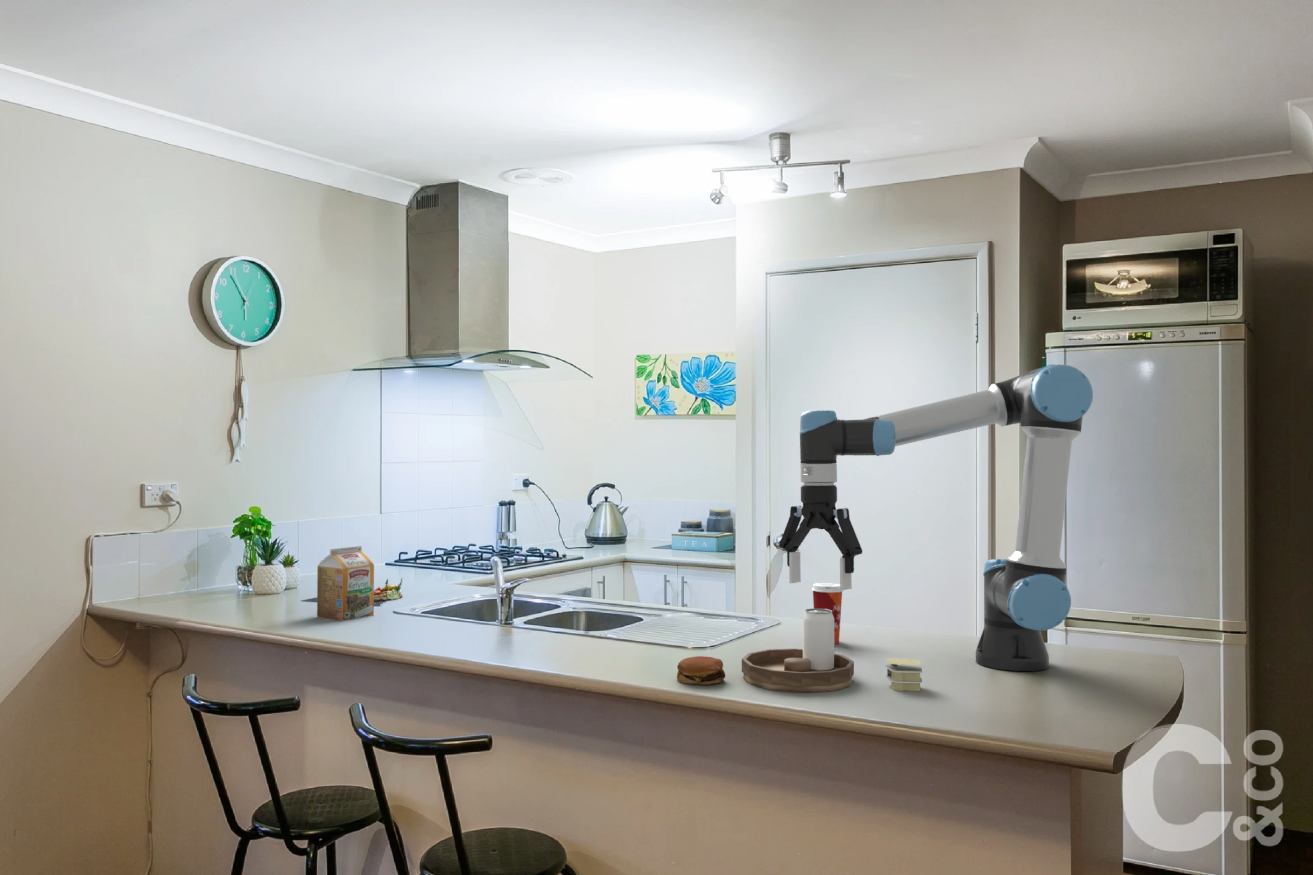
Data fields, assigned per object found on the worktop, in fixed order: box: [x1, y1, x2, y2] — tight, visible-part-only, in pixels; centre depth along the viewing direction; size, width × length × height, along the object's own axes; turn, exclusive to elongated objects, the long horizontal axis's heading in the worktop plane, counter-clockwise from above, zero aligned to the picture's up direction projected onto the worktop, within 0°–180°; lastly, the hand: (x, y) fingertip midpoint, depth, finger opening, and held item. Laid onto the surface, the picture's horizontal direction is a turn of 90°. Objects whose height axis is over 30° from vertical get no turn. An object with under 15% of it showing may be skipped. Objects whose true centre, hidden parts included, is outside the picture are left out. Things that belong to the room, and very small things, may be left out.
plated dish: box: [301, 577, 403, 608], centre depth 297 cm, size 35×28×7 cm
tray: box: [741, 648, 855, 693], centre depth 197 cm, size 22×22×4 cm
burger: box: [676, 655, 726, 686], centre depth 195 cm, size 10×10×5 cm
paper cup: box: [811, 582, 845, 645], centre depth 234 cm, size 8×8×14 cm
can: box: [802, 607, 835, 671], centre depth 201 cm, size 6×6×12 cm
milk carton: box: [316, 545, 375, 622], centre depth 266 cm, size 11×11×19 cm
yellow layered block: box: [884, 657, 923, 692], centre depth 190 cm, size 10×9×6 cm
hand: (819, 585), depth 201 cm, fingers open, 13 cm apart
